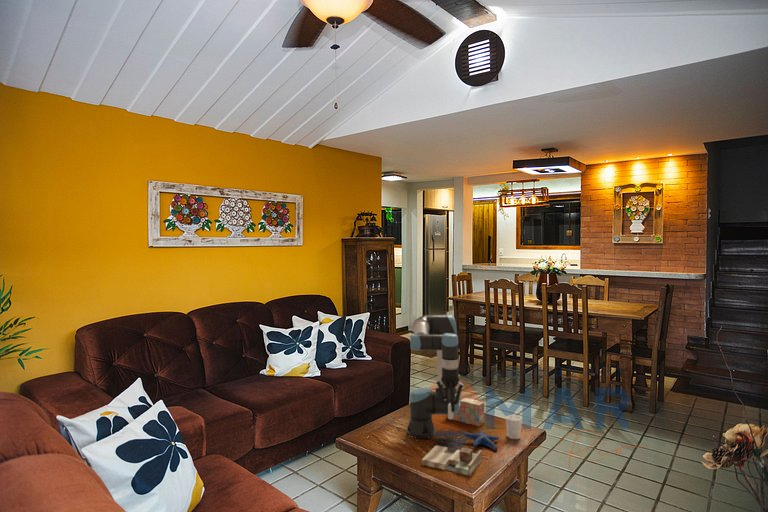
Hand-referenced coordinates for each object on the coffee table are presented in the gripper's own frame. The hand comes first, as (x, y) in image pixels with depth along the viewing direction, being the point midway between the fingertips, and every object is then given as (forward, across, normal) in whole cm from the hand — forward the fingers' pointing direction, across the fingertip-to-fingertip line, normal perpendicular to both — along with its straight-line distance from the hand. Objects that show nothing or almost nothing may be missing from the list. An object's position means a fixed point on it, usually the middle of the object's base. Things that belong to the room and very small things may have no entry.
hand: (450, 418), depth 213 cm
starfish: (+21, +8, +25) cm, 33 cm away
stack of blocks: (+21, -11, +52) cm, 57 cm away
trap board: (+20, 0, -1) cm, 20 cm away
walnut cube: (+18, +8, -1) cm, 19 cm away
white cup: (+21, +19, +41) cm, 50 cm away
